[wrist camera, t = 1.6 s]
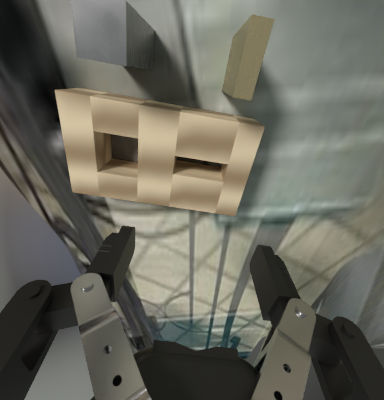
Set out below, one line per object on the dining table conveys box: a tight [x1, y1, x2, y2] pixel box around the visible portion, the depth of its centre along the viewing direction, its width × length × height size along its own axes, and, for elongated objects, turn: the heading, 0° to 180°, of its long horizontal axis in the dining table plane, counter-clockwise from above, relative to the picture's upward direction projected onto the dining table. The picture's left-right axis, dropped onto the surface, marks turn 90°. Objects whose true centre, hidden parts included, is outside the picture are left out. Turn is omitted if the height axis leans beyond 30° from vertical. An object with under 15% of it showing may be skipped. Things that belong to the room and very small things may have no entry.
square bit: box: [71, 0, 155, 70], centre depth 18 cm, size 4×4×10 cm
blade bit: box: [222, 15, 274, 101], centre depth 19 cm, size 5×2×9 cm, turn 171°
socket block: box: [55, 88, 265, 216], centre depth 26 cm, size 12×22×5 cm, turn 81°
